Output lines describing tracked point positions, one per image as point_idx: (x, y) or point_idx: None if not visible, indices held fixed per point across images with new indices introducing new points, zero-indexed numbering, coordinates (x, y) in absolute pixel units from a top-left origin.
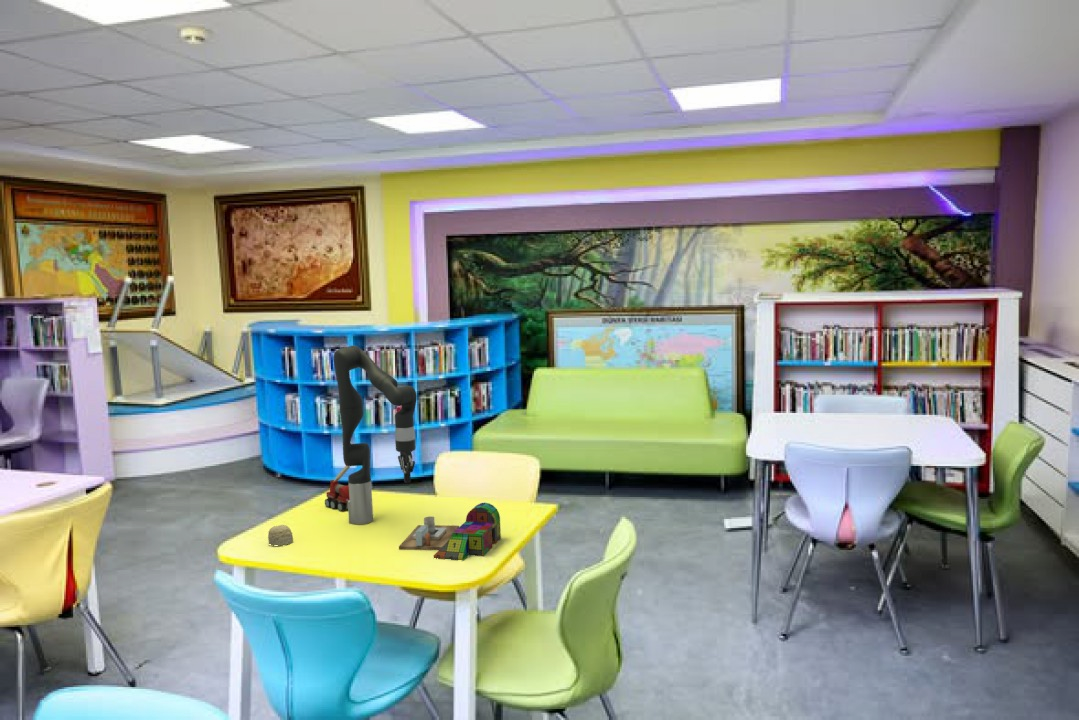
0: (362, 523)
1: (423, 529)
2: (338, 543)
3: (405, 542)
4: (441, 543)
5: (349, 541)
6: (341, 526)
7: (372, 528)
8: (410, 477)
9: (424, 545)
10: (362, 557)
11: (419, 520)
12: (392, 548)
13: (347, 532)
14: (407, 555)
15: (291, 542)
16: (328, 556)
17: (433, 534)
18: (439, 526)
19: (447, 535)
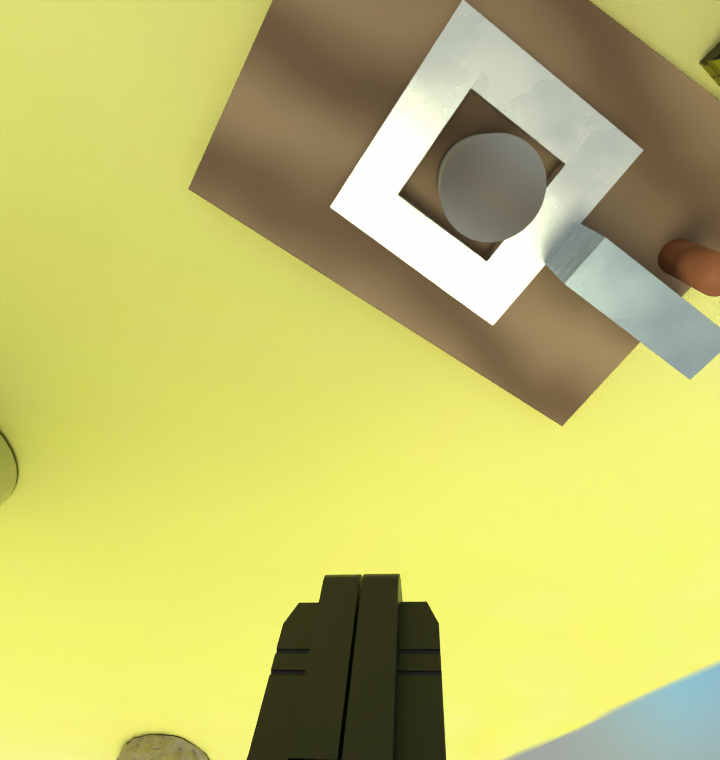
0: (13, 471)
1: (689, 307)
2: (280, 620)
3: (516, 372)
4: (714, 149)
5: (274, 579)
6: (17, 553)
7: (101, 440)
8: (398, 646)
9: (662, 280)
10: (551, 590)
11: (21, 124)
12: (512, 440)
13: (126, 554)
14: (694, 403)
15: (189, 745)
16: None
17: (562, 171)
18: (293, 28)
19: (561, 35)
